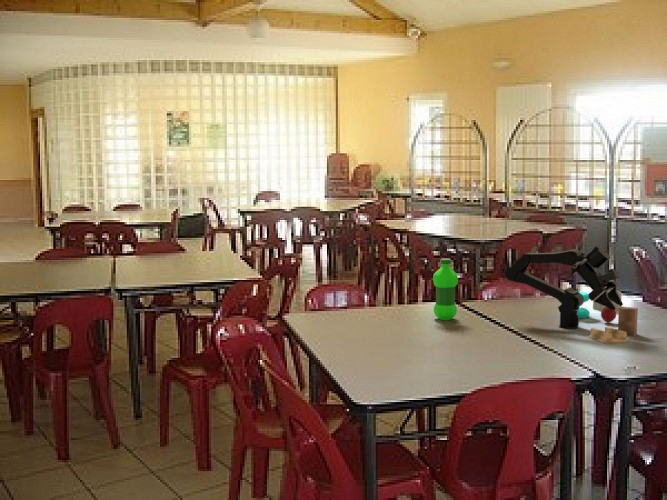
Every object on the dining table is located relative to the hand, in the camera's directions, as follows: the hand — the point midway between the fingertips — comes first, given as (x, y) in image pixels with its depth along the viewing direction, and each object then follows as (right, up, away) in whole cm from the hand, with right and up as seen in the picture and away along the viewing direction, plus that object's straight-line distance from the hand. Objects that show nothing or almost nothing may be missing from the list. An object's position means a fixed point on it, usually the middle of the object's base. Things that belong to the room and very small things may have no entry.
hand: (618, 307), depth 300 cm
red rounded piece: (+2, -8, +18) cm, 20 cm away
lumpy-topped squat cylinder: (+12, -4, +47) cm, 49 cm away
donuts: (-6, -6, +31) cm, 32 cm away
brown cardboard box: (+3, -10, -1) cm, 11 cm away
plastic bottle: (-62, -7, +29) cm, 68 cm away
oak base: (-7, -11, -9) cm, 16 cm away
